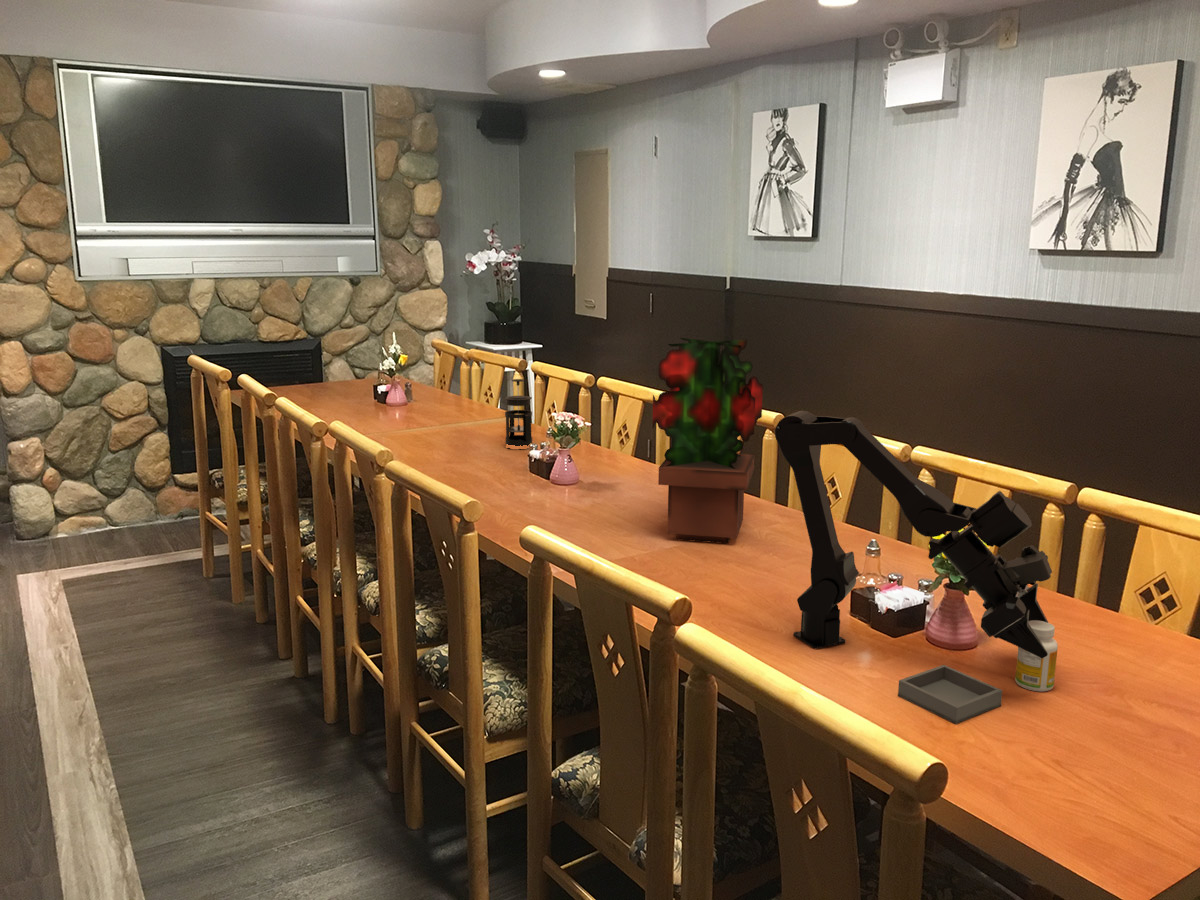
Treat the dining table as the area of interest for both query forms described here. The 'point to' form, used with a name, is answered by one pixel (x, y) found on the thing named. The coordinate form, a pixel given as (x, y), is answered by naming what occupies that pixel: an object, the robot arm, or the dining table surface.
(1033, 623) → the supplement bottle
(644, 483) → the dining table surface
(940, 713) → the charcoal tray
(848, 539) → the dining table surface
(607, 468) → the dining table surface
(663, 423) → the potted plant
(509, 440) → the french press
